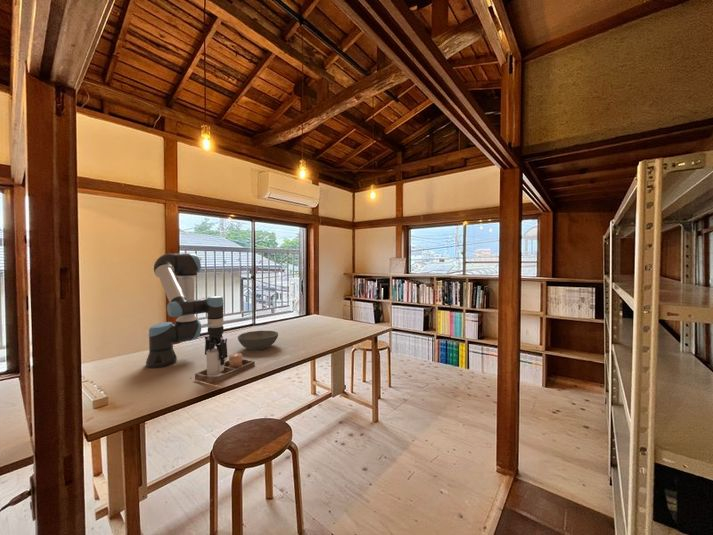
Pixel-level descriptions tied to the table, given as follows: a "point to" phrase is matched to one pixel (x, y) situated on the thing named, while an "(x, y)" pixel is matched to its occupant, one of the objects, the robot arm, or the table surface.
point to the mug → (213, 361)
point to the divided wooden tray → (223, 372)
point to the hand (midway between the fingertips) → (216, 369)
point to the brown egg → (235, 360)
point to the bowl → (257, 339)
